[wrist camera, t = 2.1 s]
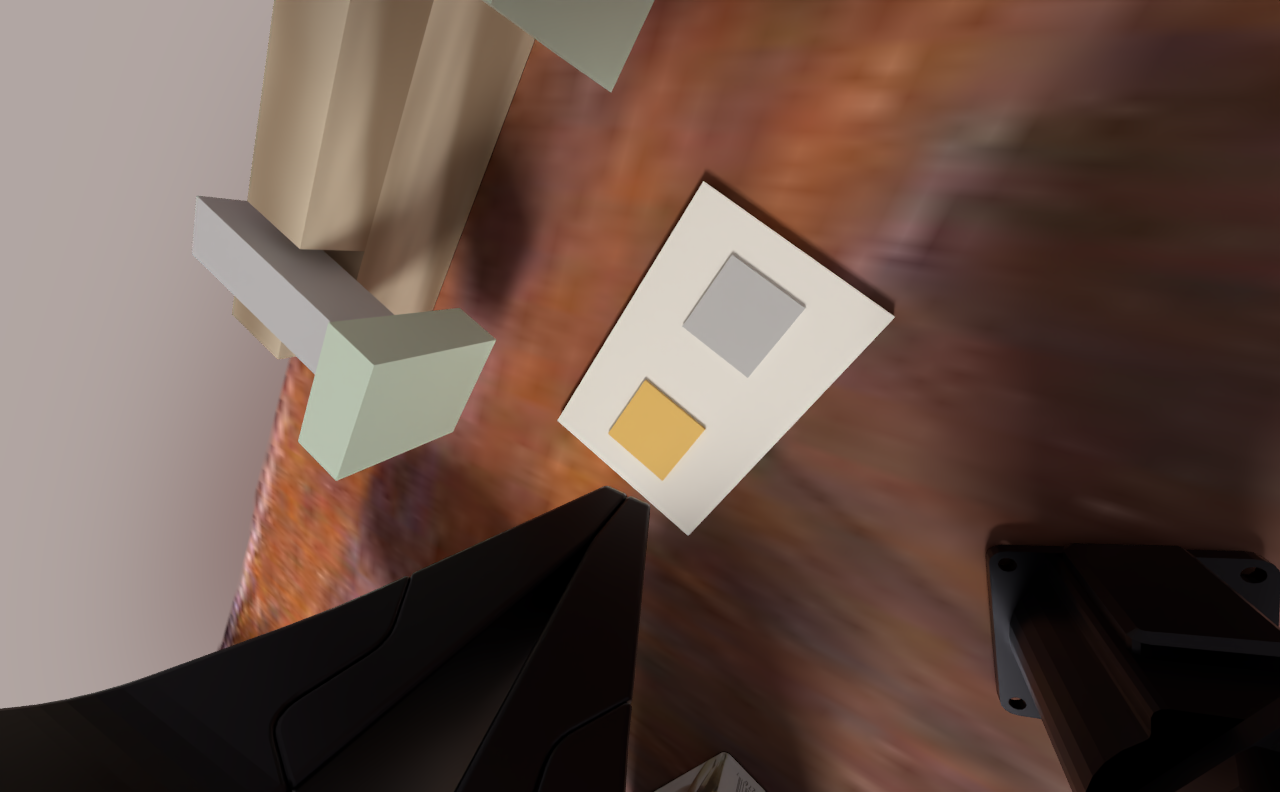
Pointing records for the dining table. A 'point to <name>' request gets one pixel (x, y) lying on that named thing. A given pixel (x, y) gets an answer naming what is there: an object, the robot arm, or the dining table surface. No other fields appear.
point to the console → (380, 136)
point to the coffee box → (715, 778)
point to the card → (716, 358)
